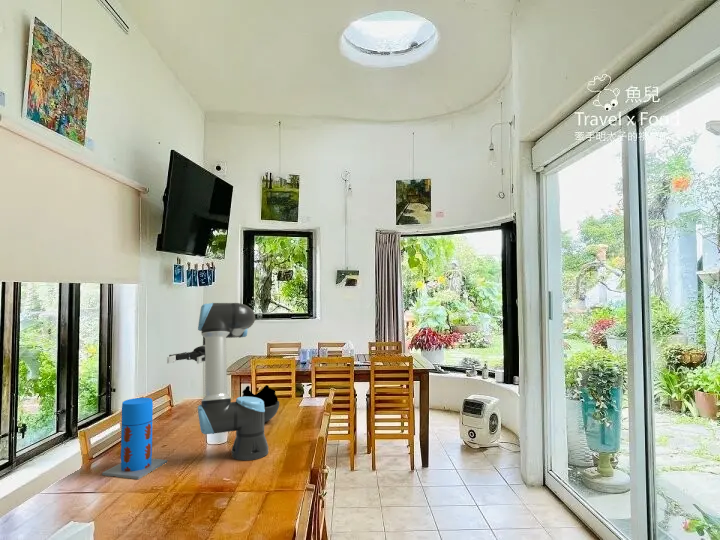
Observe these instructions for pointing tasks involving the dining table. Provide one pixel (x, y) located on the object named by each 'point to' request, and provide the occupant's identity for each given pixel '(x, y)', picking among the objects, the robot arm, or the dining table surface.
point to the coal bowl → (265, 400)
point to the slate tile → (134, 474)
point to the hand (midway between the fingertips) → (182, 360)
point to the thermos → (136, 434)
